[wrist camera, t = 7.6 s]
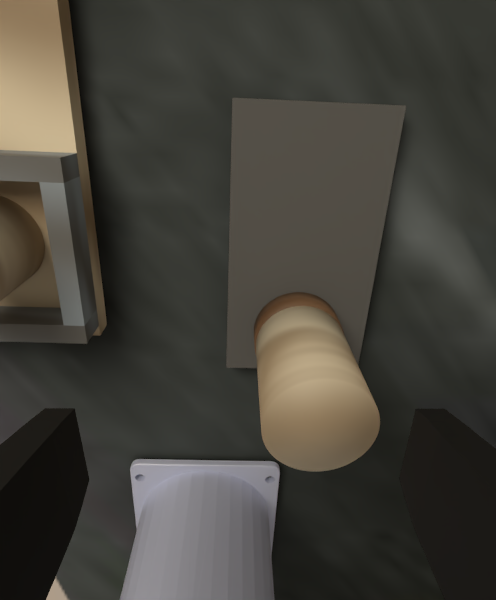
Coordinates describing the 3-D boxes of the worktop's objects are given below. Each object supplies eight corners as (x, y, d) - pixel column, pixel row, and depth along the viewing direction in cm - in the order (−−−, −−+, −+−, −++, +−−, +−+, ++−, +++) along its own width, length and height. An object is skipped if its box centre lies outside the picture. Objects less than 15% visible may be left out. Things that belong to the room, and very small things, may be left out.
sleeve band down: (332, 367, 19) (370, 473, 13) (251, 365, 19) (256, 471, 13) (344, 293, 17) (392, 379, 12) (255, 290, 17) (263, 376, 12)
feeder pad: (351, 358, 20) (357, 370, 19) (226, 355, 20) (226, 367, 19) (396, 105, 15) (406, 105, 14) (232, 98, 15) (232, 97, 14)
